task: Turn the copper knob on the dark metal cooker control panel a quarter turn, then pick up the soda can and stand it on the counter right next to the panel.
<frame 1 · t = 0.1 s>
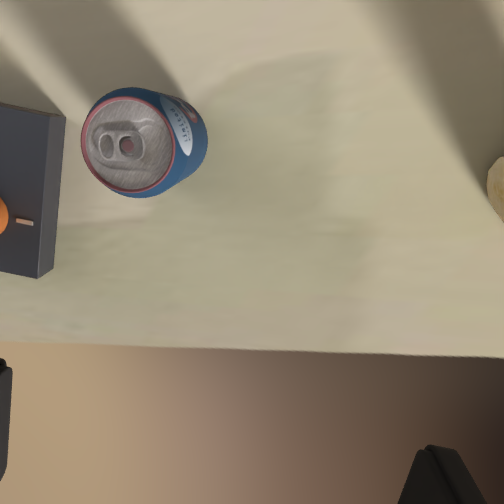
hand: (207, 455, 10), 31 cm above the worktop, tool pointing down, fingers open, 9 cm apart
soda can: (170, 138, 39), on the worktop
cooker panel: (4, 184, 40), on the worktop
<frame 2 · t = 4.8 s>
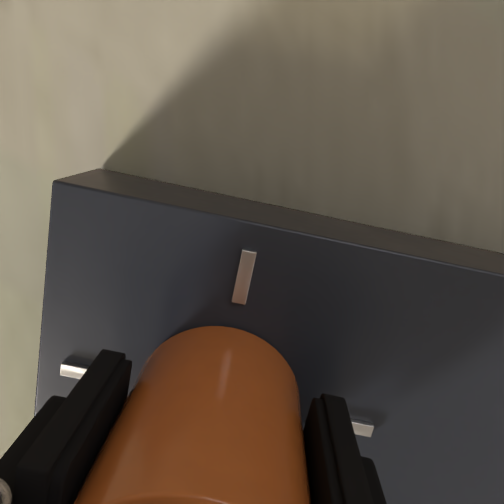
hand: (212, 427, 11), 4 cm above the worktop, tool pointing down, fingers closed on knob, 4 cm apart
knob: (202, 480, 9), point 6 cm above the worktop, hinge at 0.1°, touching gripper
cooker panel: (285, 357, 15), on the worktop
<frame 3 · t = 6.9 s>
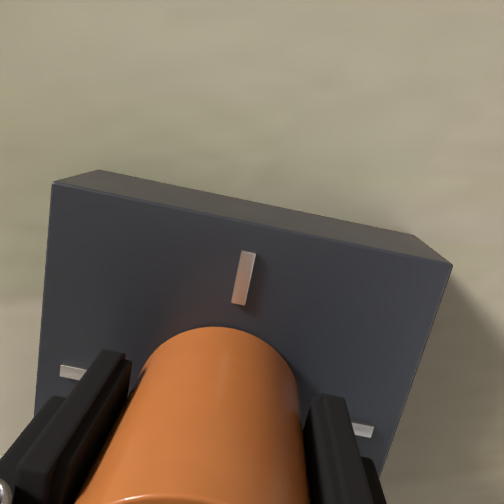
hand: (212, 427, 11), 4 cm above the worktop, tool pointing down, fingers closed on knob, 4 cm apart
knob: (202, 481, 9), point 6 cm above the worktop, hinge at 89.9°, touching gripper
cooker panel: (217, 396, 16), on the worktop
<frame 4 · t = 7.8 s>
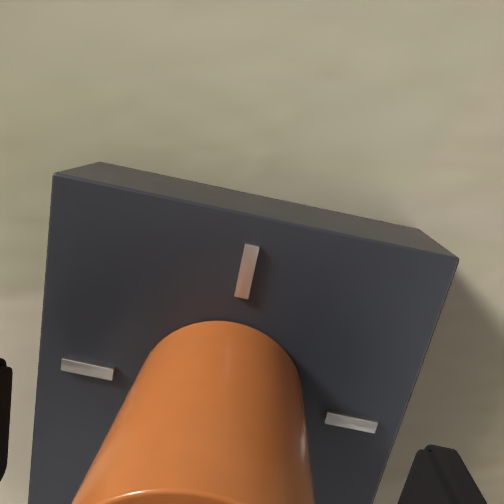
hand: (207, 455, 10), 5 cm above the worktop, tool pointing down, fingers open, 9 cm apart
knob: (205, 476, 9), point 6 cm above the worktop, hinge at 89.0°
cooker panel: (219, 391, 16), on the worktop
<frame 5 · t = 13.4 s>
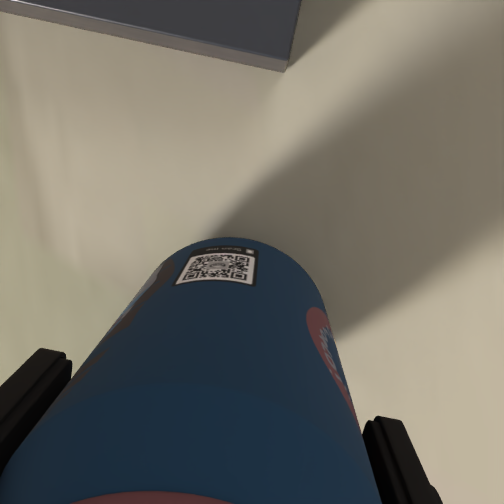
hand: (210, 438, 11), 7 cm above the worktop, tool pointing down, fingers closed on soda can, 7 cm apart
soda can: (234, 312, 18), on the worktop, touching gripper
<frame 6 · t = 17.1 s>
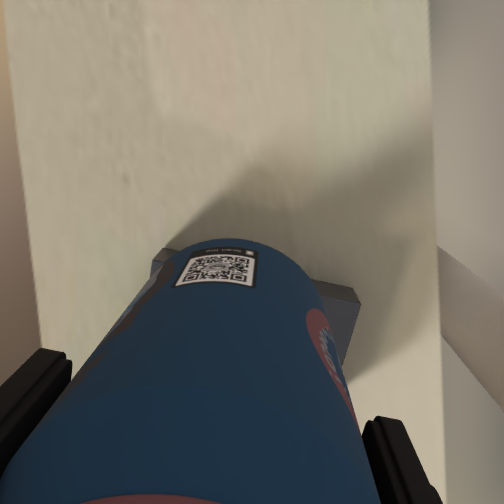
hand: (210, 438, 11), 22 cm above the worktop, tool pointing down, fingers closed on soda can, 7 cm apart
soda can: (234, 313, 18), point 14 cm above the worktop, touching gripper
cooker panel: (244, 329, 33), on the worktop
when the fingers open (7 cm above the worktop, at t = 21.3 s): soda can stays where it is, on the worktop.
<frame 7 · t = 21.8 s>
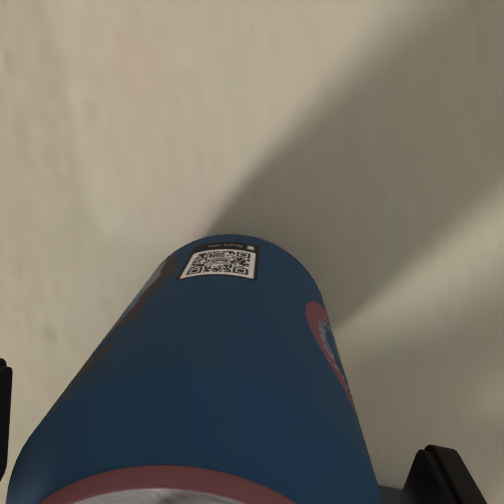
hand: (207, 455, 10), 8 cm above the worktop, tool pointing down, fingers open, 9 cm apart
soda can: (235, 308, 18), on the worktop
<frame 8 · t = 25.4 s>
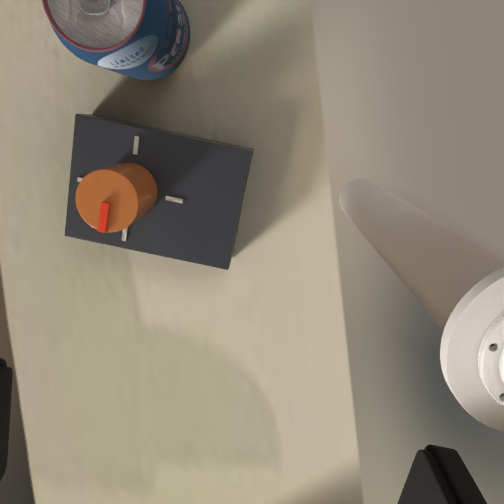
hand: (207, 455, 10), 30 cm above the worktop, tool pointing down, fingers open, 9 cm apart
knob: (118, 195, 33), point 6 cm above the worktop, hinge at 89.0°
soda can: (150, 36, 36), on the worktop
cooker panel: (163, 189, 39), on the worktop
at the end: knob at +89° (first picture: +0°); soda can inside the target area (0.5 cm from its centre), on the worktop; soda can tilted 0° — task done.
